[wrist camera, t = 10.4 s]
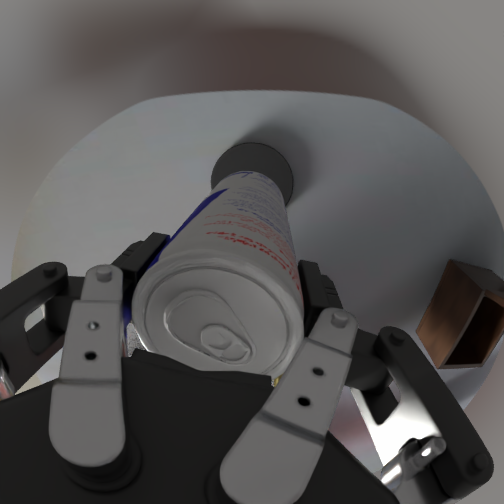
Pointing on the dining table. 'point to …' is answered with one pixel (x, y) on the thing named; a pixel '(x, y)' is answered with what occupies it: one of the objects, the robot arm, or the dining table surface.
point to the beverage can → (226, 284)
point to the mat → (255, 166)
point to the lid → (495, 296)
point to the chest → (462, 317)
